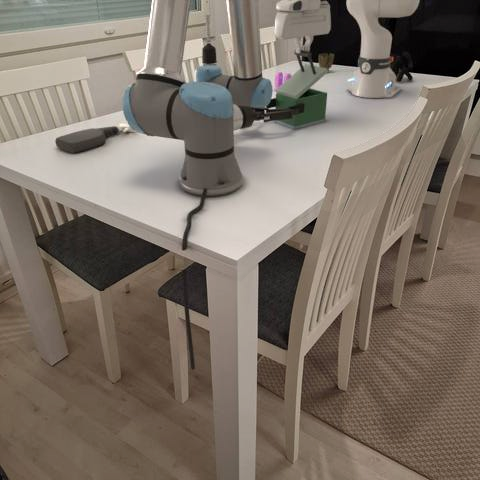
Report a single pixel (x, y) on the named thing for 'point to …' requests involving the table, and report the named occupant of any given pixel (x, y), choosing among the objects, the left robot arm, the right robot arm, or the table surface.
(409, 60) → the squiggle
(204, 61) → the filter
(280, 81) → the bracket
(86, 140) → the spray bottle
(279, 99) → the chest
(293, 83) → the lid
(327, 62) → the cup
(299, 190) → the table surface
